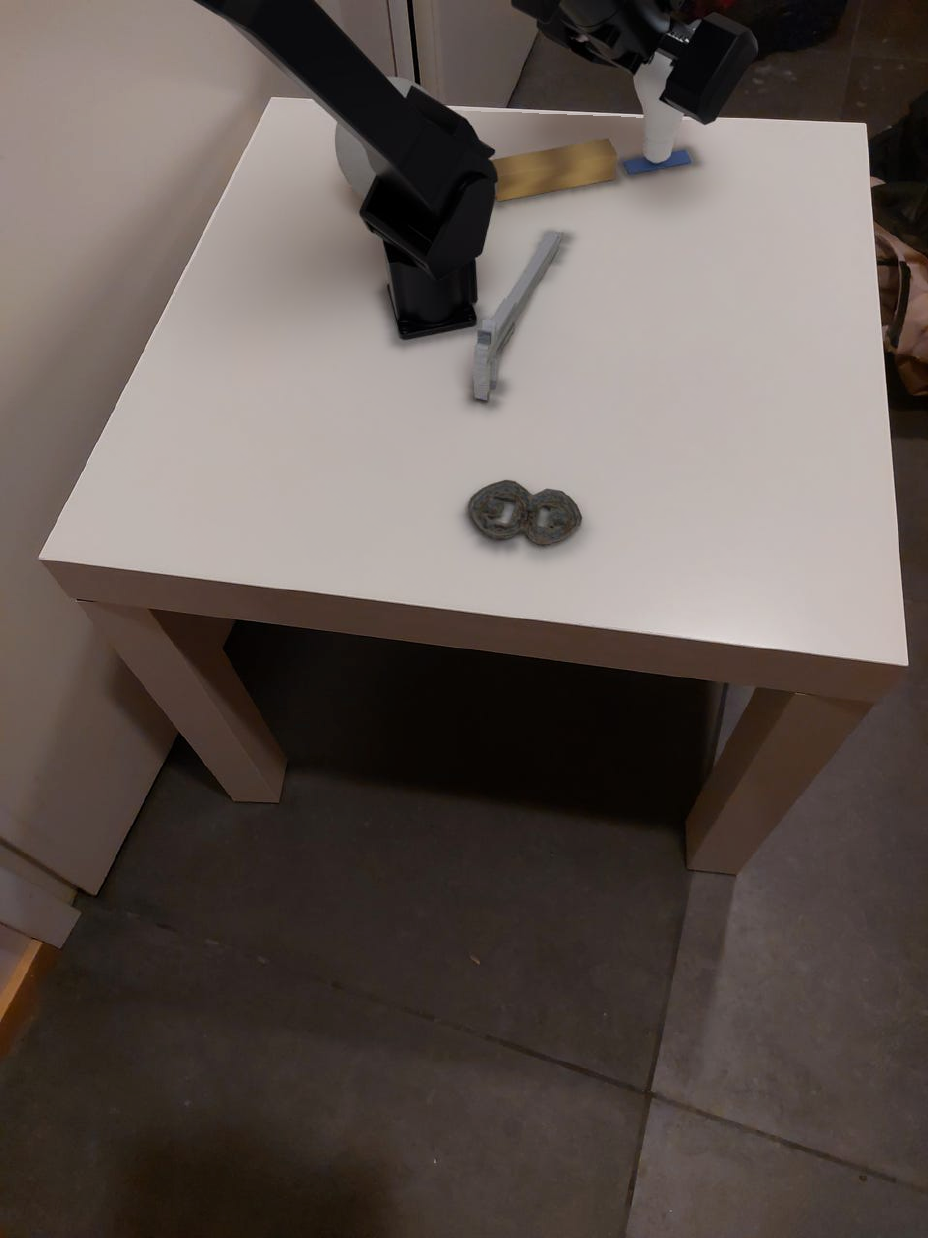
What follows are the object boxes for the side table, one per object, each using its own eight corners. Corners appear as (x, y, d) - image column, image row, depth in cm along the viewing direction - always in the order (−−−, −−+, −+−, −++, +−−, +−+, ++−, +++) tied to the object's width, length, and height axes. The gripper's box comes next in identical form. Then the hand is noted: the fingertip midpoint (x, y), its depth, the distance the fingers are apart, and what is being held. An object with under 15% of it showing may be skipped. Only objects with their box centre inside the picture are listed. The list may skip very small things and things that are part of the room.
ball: (340, 172, 80) (319, 60, 71) (444, 156, 80) (436, 43, 72) (351, 240, 75) (330, 129, 67) (461, 223, 76) (455, 111, 67)
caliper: (487, 406, 65) (485, 344, 60) (474, 403, 65) (470, 341, 60) (563, 237, 74) (567, 169, 69) (551, 235, 74) (554, 167, 69)
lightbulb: (647, 189, 76) (668, 60, 67) (609, 155, 79) (623, 25, 69) (702, 167, 77) (730, 36, 68) (663, 133, 80) (684, 3, 70)
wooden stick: (497, 201, 77) (497, 176, 75) (491, 185, 78) (490, 159, 76) (614, 179, 77) (617, 153, 75) (606, 163, 79) (608, 137, 76)
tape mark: (628, 174, 78) (629, 172, 78) (622, 162, 79) (623, 160, 78) (691, 162, 78) (691, 160, 78) (684, 151, 79) (685, 148, 79)
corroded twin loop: (573, 559, 58) (574, 550, 57) (460, 538, 59) (460, 529, 58) (587, 501, 60) (588, 492, 59) (478, 482, 62) (477, 473, 61)
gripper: (778, -103, 53) (831, 24, 66) (570, -186, 60) (654, -57, 73) (670, 78, 58) (739, 164, 70) (489, -19, 65) (582, 74, 78)
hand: (678, 81), depth 73 cm, fingers closed on lightbulb, 6 cm apart
